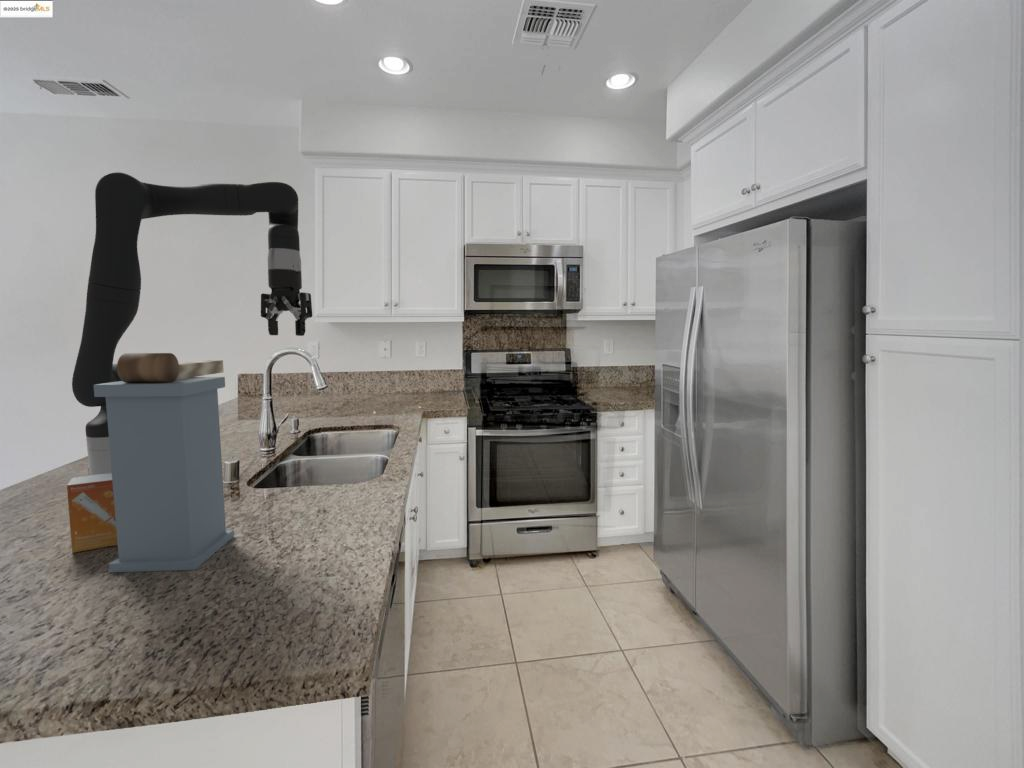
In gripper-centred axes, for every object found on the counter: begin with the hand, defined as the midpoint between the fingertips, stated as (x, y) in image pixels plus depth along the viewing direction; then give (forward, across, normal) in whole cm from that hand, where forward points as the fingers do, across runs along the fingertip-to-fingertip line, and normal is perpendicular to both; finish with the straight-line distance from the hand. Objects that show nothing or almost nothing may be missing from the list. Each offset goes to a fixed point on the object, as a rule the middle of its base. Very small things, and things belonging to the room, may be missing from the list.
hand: (286, 335), depth 126 cm
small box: (+40, -9, -38) cm, 57 cm away
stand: (+40, +8, -36) cm, 55 cm away
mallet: (+8, +6, -31) cm, 33 cm away
